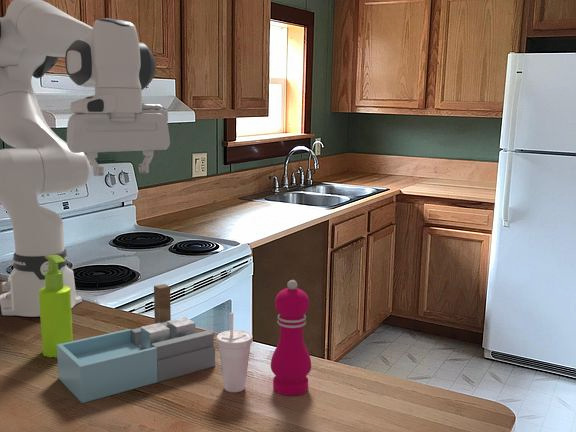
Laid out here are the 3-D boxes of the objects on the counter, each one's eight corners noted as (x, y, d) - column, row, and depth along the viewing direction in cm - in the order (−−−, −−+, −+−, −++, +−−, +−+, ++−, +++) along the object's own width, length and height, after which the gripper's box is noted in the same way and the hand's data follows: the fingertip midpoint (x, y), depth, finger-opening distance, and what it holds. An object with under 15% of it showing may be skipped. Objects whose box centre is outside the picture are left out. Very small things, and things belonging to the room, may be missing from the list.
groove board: (130, 360, 124) (129, 328, 123) (185, 346, 131) (184, 316, 130) (158, 382, 115) (157, 348, 114) (215, 366, 122) (214, 334, 121)
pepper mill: (307, 399, 109) (309, 287, 105) (266, 394, 110) (267, 284, 107) (313, 381, 116) (316, 276, 112) (275, 377, 117) (276, 273, 114)
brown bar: (148, 338, 136) (147, 284, 134) (165, 334, 138) (164, 281, 136) (160, 346, 131) (159, 290, 129) (177, 342, 134) (176, 287, 132)
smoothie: (212, 383, 115) (211, 309, 112) (245, 377, 117) (245, 305, 115) (222, 398, 109) (222, 320, 106) (257, 392, 111) (258, 316, 109)
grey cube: (167, 340, 124) (167, 321, 123) (185, 336, 126) (185, 317, 126) (177, 346, 121) (176, 327, 120) (195, 342, 123) (195, 322, 122)
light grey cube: (141, 346, 121) (140, 326, 120) (160, 342, 123) (159, 322, 122) (150, 353, 117) (150, 333, 117) (169, 348, 120) (169, 328, 119)
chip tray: (58, 378, 116) (56, 344, 114) (130, 360, 124) (129, 328, 123) (81, 403, 106) (80, 366, 105) (157, 382, 115) (156, 348, 114)
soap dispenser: (51, 361, 123) (45, 261, 119) (38, 351, 128) (32, 254, 124) (80, 354, 127) (75, 257, 123) (66, 344, 132) (61, 250, 128)
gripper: (160, 104, 133) (162, 170, 135) (61, 103, 120) (65, 175, 123) (174, 104, 128) (176, 172, 130) (72, 103, 115) (76, 178, 118)
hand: (121, 174), depth 126 cm, fingers open, 8 cm apart
